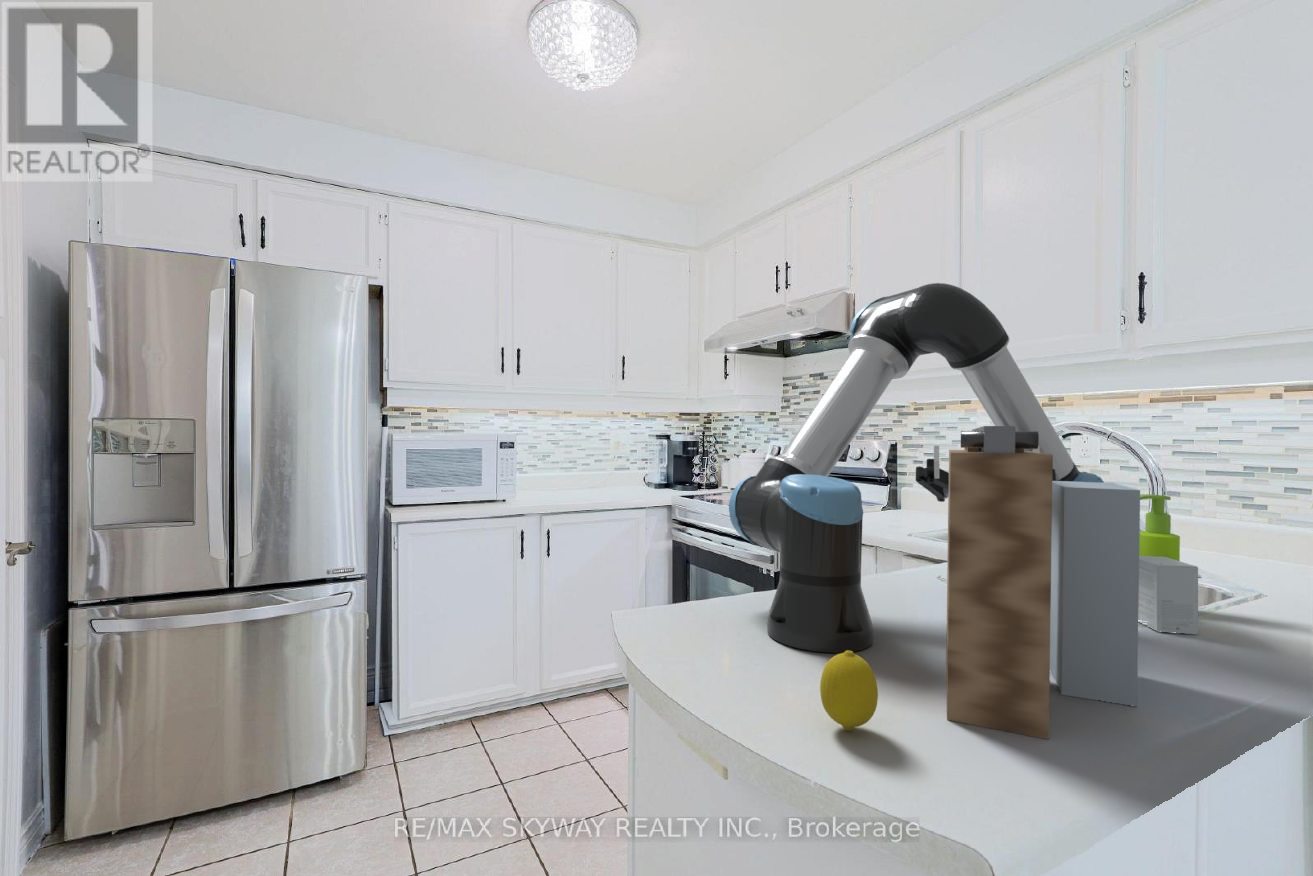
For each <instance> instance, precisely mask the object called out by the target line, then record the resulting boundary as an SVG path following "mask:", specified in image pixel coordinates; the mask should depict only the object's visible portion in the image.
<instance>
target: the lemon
mask: <svg viewBox="0 0 1313 876" xmlns="http://www.w3.org/2000/svg"><path fill="white" fill-rule="evenodd" d="M819 684H820V685H819V689H820V690H819V692H820V698H821V703H822V706H823V709H824V711H825V712H826V714H827V715H828V717H830V719H832V720H833V721H834V722H835V723H836V724H839V725H841V727H843V729H844V730H846V731H852V730H853V729H855V728H857V727H862V726H863V725H865V724H867V723H868V722H869V721H870V720H871V719H872V717H873V716H874V714H875V712H876V709H877V706H878V700H879V699H878V697H879V693H878V691H879V690H878V682H877V679H876V675H875V672H874V670H873V669H872V667H871V665H870V664H869V663H868V662H867V661H866V660H865V659H864V658H862V657H861V656H860V655H857V654H855V653H854V651H849V650H847V651H845V652H840V653H837V654H836V655H834V656H832V657H831V658H830V659H829V660H828V661H827V662H826V664H825V665H824V668H823V669H822V673H821V677H820V683H819Z"/></svg>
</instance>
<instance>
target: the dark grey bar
mask: <svg viewBox="0 0 1313 876" xmlns="http://www.w3.org/2000/svg"><path fill="white" fill-rule="evenodd" d="M1038 443H1039V435H1038V431H1015V426H995V425H983V426H980V427H977V428H973V429H971V430H960V448H962V449H964V448H978V451H979V452H982V453H1007V454H1015V449H1038Z"/></svg>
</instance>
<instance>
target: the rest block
mask: <svg viewBox="0 0 1313 876" xmlns="http://www.w3.org/2000/svg"><path fill="white" fill-rule="evenodd" d="M1140 495H1141V489H1137V488H1135V487H1134V488H1133V487H1129V486H1126V485H1122V484H1117V483H1114V482H1104V483H1100V482H1073V481H1052V543H1051V613H1050V670H1051V671H1050V673H1051V672H1052V673H1051V675H1052V674H1053V675H1052V677H1053V679H1054V678H1055V679H1054V681H1056V682H1055V683H1057V684H1056V685H1058V686H1057V688H1058V687H1059V688H1058V690H1059V693H1060V694H1061V695H1062V696H1069V697H1074V698H1080V699H1087V700H1094V701H1098V700H1101V701H1100V702H1104V701H1106V702H1105V703H1110V702H1112V704H1116V703H1117V705H1123V704H1124V706H1128V705H1133V706H1132V707H1134V706H1137V707H1138V667H1139V666H1138V664H1139V663H1138V662H1139V661H1138V659H1139V658H1138V657H1139V652H1138V651H1139V623H1138V605H1139V538H1140V532H1141V528H1140V526H1141V500H1140ZM1102 700H1103V701H1102ZM1113 702H1114V703H1113ZM1118 703H1119V704H1118Z"/></svg>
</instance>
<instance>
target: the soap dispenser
mask: <svg viewBox="0 0 1313 876" xmlns="http://www.w3.org/2000/svg"><path fill="white" fill-rule="evenodd" d="M1171 498H1172V497H1171V496H1167V495H1159V494H1147V493H1145V494H1144V493H1143V494H1140V501H1141V500H1150V499H1151V511H1149V512H1146V513H1145V526H1144V527H1145V528H1144V529H1145V531H1144V530H1143V531H1141V530H1140V538H1139V556H1152V557H1167V558H1170V559H1174V560H1177V561H1180V562H1181V560H1180V557H1181V555H1180V550H1181V548H1180V547H1181V546H1180V545H1181V536H1180V535H1178V534H1174V533H1171V526H1172V525H1171V519H1172V518H1171V517H1172V516H1171V515H1170V514H1168V513H1167V512H1165V501H1171Z"/></svg>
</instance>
